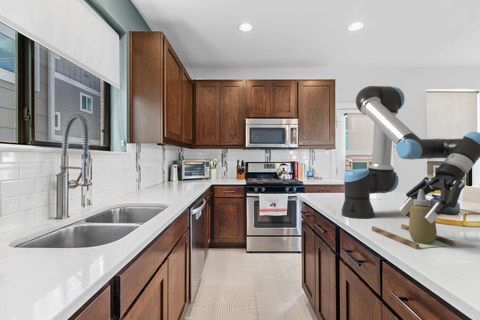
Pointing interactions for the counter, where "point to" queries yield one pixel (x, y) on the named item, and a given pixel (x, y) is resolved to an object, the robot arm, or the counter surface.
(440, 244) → the pad
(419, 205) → the squeeze bottle
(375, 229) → the rail
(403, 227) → the rail
